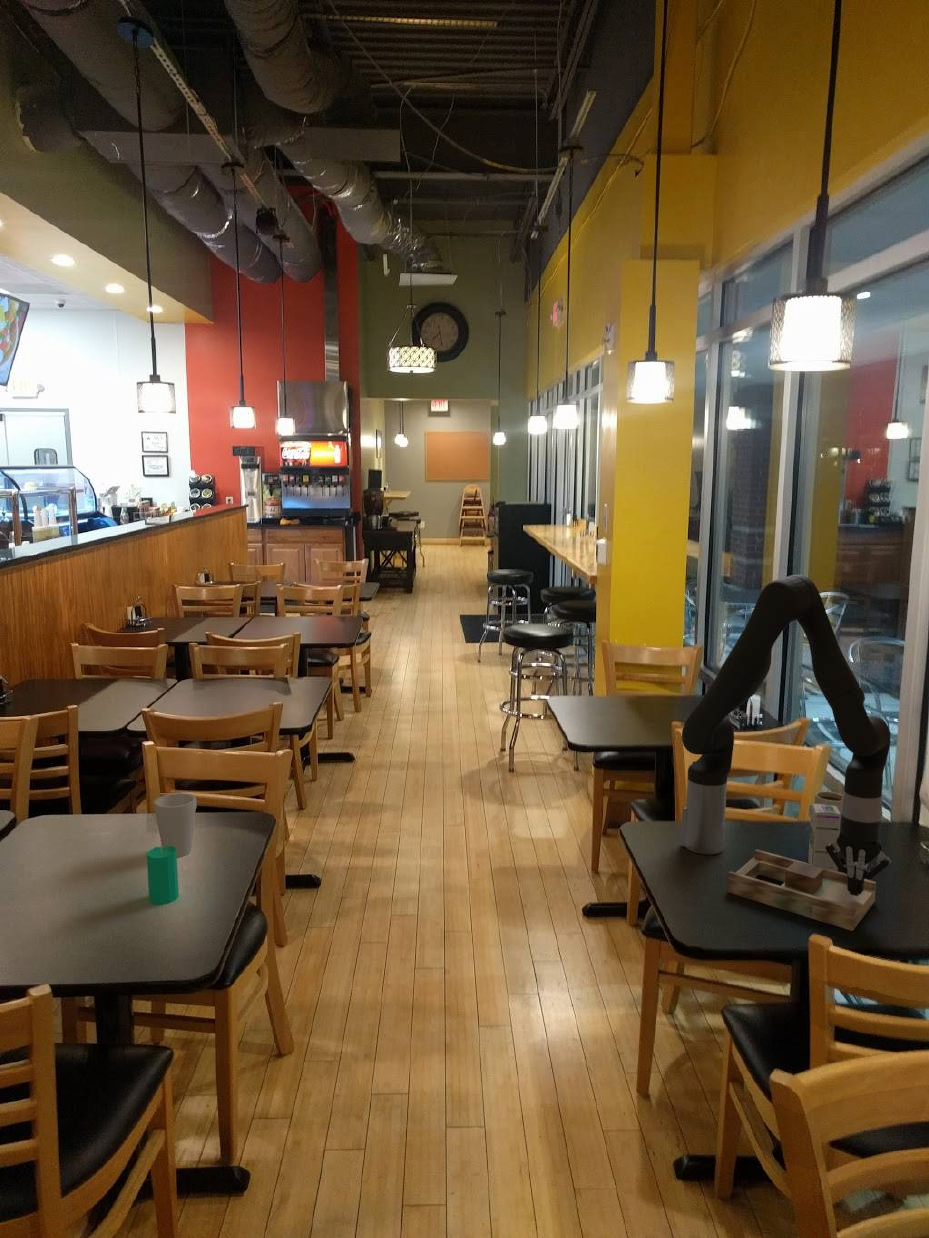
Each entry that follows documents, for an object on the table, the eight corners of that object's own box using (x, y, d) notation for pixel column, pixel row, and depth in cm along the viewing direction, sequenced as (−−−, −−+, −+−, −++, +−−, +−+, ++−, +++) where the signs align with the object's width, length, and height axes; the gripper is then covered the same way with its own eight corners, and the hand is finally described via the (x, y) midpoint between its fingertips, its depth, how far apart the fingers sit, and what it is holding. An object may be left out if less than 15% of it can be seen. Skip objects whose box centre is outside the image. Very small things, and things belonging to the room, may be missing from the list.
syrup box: (838, 874, 201) (843, 813, 199) (810, 871, 202) (815, 811, 200) (833, 863, 207) (837, 804, 204) (806, 861, 208) (810, 802, 205)
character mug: (815, 854, 212) (818, 802, 210) (798, 842, 219) (801, 792, 217) (855, 850, 214) (859, 799, 212) (837, 839, 221) (841, 789, 219)
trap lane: (727, 892, 192) (728, 872, 191) (755, 867, 204) (756, 849, 204) (852, 931, 176) (854, 909, 175) (874, 901, 188) (876, 881, 187)
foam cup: (206, 850, 211) (204, 798, 209) (175, 863, 204) (172, 810, 202) (179, 841, 216) (177, 790, 214) (148, 854, 209) (145, 801, 207)
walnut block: (784, 885, 189) (785, 870, 188) (794, 875, 193) (795, 860, 193) (813, 893, 185) (814, 878, 184) (822, 883, 190) (823, 868, 189)
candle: (184, 893, 189) (182, 840, 187) (166, 906, 184) (163, 851, 182) (161, 889, 191) (158, 836, 189) (142, 901, 185) (139, 847, 184)
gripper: (821, 811, 181) (816, 891, 184) (891, 827, 173) (884, 910, 175) (833, 801, 187) (827, 878, 189) (900, 816, 178) (894, 897, 181)
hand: (855, 893), depth 182 cm, fingers closed
